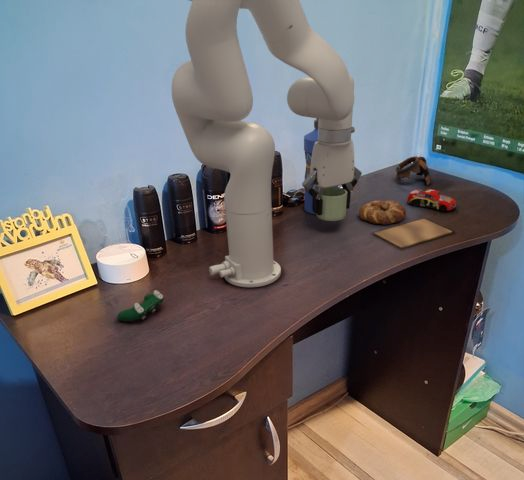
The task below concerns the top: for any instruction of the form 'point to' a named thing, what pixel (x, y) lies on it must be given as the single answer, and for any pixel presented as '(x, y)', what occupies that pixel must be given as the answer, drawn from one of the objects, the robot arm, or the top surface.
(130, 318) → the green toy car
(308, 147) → the water bottle
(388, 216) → the seeded bagel
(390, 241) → the cork mat
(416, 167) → the brown grey arched frame
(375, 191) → the top surface
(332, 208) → the green cup
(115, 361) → the top surface
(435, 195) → the race car
